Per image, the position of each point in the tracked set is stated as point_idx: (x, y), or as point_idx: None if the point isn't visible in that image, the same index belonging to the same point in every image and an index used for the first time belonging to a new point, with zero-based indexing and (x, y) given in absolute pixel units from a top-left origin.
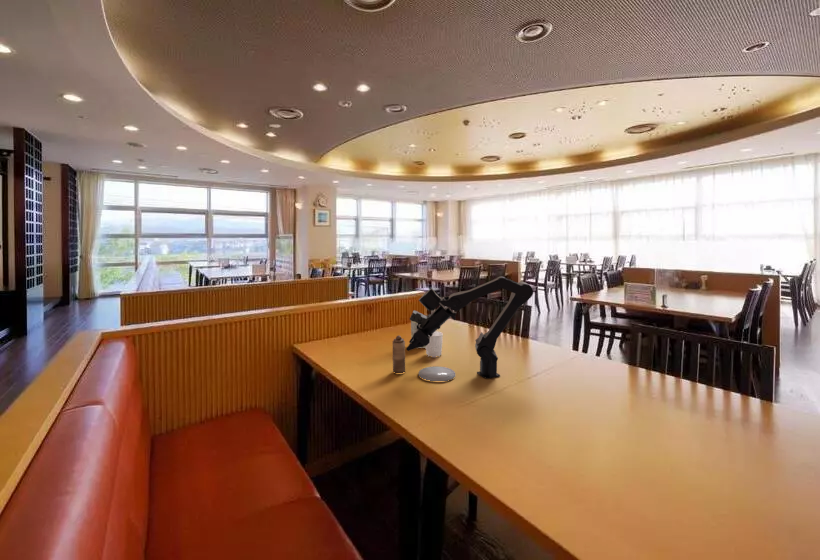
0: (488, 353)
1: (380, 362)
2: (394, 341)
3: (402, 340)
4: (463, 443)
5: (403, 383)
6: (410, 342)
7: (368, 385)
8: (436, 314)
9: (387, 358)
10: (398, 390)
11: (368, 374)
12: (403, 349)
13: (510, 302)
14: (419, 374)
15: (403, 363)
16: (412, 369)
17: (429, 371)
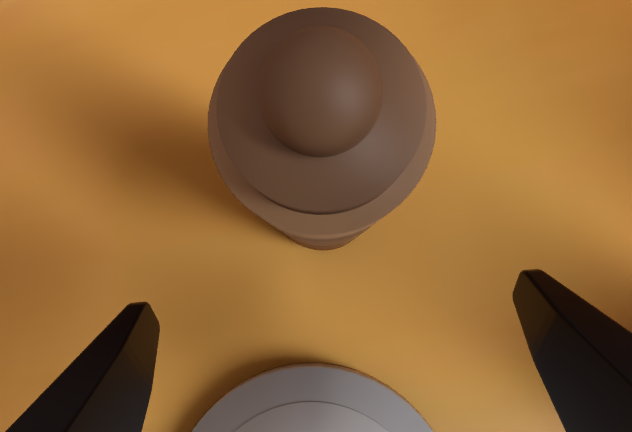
0: None
1: (503, 15)
2: (246, 51)
3: (269, 196)
4: None
5: (127, 280)
6: (520, 295)
7: (68, 60)
8: None
9: (606, 42)
10: (9, 272)
11: (251, 3)
12: (280, 230)
13: None
14: (254, 383)
15: (293, 239)
16: (405, 292)
17: None
